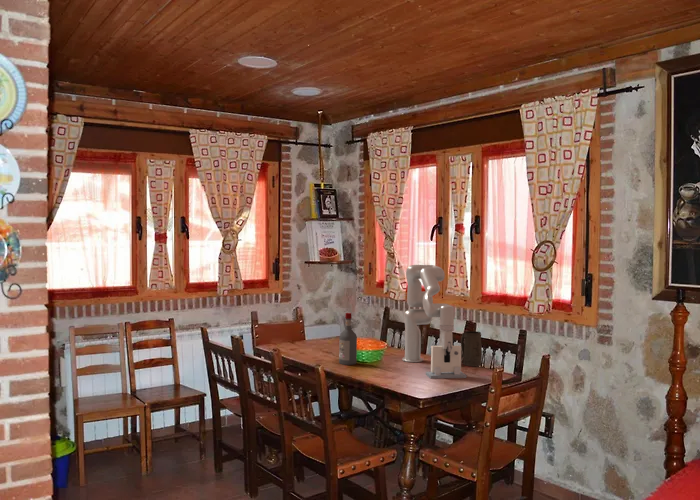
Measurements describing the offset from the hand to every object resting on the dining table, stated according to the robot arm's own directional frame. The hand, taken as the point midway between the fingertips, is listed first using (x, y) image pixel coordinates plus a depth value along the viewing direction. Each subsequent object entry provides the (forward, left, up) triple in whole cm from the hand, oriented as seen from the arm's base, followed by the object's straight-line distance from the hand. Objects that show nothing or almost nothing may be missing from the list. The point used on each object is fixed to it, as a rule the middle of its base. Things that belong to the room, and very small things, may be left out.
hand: (446, 361), depth 330 cm
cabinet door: (0, 0, -6) cm, 6 cm away
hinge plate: (0, 0, -8) cm, 8 cm away
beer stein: (-31, +24, -8) cm, 40 cm away
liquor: (-37, -49, -8) cm, 62 cm away
